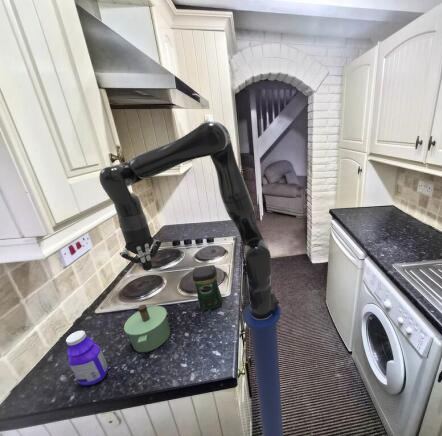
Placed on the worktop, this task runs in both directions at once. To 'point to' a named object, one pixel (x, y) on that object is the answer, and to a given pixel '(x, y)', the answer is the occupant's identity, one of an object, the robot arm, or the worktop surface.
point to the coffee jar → (207, 287)
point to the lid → (145, 320)
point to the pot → (151, 337)
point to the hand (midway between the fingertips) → (148, 269)
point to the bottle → (86, 359)
